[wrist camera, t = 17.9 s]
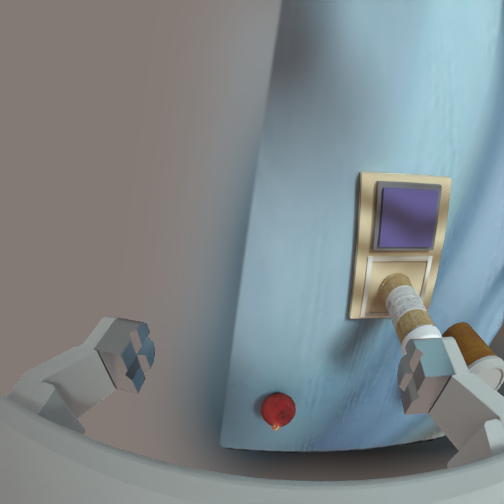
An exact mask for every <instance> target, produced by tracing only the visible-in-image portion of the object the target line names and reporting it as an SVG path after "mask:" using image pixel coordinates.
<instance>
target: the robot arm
mask: <svg viewBox="0 0 504 504" xmlns="http://www.w3.org/2000/svg"><path fill="white" fill-rule="evenodd" d="M149 332H150V331H149V328H148V326H147V324H146V323H144V322H139V321H133V320H128V319H122V318H116V317H111V316H105V317H103V318H102V319H101V320H100V322H99V323H98V324H97V326H96V327H95V328H94V330H93V331H92V332H91V334H90V335H89V336H88V338H87V339H86V340H85V342H84V343H83V344H82V345H81V346H75V347H73V348H72V349H70V350H68V351H66V352H64V353H62V354H60V355H58V356H56V357H54V358H52V359H50V360H48V361H46V362H44V363H42V364H40V365H38V366H36V367H35V368H32V369H30V370H28V371H26V372H25V373H24V374H23V376H22V377H21V378H20V379H19V381H18V382H17V383H16V385H15V386H14V388H13V389H12V390H11V392H10V393H9V394H8V396H7V397H5V396H4V395H2V394H0V504H504V397H503V396H502V395H500V394H499V393H498V392H497V391H495V390H494V389H493V388H492V387H491V386H489V385H488V384H487V383H486V382H484V381H483V380H482V379H481V378H479V377H478V376H477V375H475V374H474V373H470V372H469V370H468V368H467V365H466V363H465V361H464V358H463V356H462V354H461V352H460V349H459V347H458V345H457V343H456V341H455V339H454V338H453V337H439V338H421V339H410V340H409V341H408V342H407V345H406V347H405V349H406V353H407V354H406V355H405V356H403V357H402V358H401V360H400V363H399V366H398V373H397V376H398V384H399V387H400V388H401V389H402V390H403V391H404V393H403V395H402V397H401V399H402V403H403V408H404V413H405V415H406V414H421V413H429V415H430V417H431V418H432V419H433V420H434V421H435V423H436V424H437V425H438V426H439V427H440V429H441V430H442V431H443V432H444V433H445V435H446V436H447V437H448V438H449V439H450V441H451V442H452V443H453V444H454V446H455V447H456V448H457V449H458V450H459V452H458V453H457V454H456V455H455V456H454V457H453V458H452V459H451V460H450V461H449V462H448V464H447V466H448V469H443V470H438V471H433V472H427V473H421V474H415V475H409V476H401V477H393V478H385V479H373V480H358V481H328V482H327V481H325V482H324V481H288V480H273V479H262V478H252V477H243V476H236V475H229V474H223V473H217V472H211V471H205V470H200V469H195V468H190V467H186V466H181V465H177V464H173V463H169V462H165V461H161V460H157V459H153V458H150V457H146V456H143V455H139V454H136V453H133V452H130V451H126V450H123V449H120V448H117V447H114V446H111V445H109V444H106V443H103V442H100V441H97V440H95V439H92V438H90V437H87V436H85V435H84V433H85V429H84V427H83V426H82V424H81V423H80V422H79V420H78V419H77V418H79V417H80V416H81V415H83V414H84V413H85V412H87V411H88V410H89V409H91V408H92V407H94V406H95V405H96V404H98V403H99V402H100V401H102V400H103V399H104V398H106V397H107V396H108V395H110V394H111V393H112V392H114V391H115V390H116V389H120V390H125V391H129V392H134V393H138V392H139V390H140V388H141V386H142V384H143V382H144V380H145V376H144V372H146V371H147V370H149V369H150V368H151V366H152V364H153V362H154V356H155V349H154V344H153V342H152V341H151V340H150V339H149V338H148V337H147V336H148V334H149ZM115 388H116V389H115Z"/></svg>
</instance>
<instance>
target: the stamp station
mask: <svg viewBox="0 0 504 504" xmlns="http://www.w3.org/2000/svg"><path fill="white" fill-rule="evenodd" d="M451 181H452V179H451V178H449V177H443V176H432V175H418V174H403V173H384V172H360V188H359V211H358V228H357V242H356V254H355V265H354V275H353V285H352V294H351V302H350V310H349V316H350V319H356V318H387V317H390V315H389V312H388V310H387V307H386V303H385V301H384V299H383V297H382V296H381V292H380V290H381V284H382V282H383V281H384V280H385V279H386V278H387V277H388V276H389V275H391V274H394V273H403V274H405V275H406V276H407V277H409V279H410V281H411V284H412V286H413V287H414V289H415V290H416V291H417V293H418V295H419V297H420V298H421V300H422V302H423V304H424V306H425V308H426V310H427V312H428V309H429V305H430V302H431V298H432V294H433V290H434V285H435V281H436V277H437V272H438V267H439V263H440V258H441V253H442V247H443V242H444V236H445V229H446V223H447V216H448V209H449V200H450V191H451Z"/></svg>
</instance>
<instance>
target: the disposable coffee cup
mask: <svg viewBox="0 0 504 504" xmlns="http://www.w3.org/2000/svg"><path fill="white" fill-rule="evenodd" d="M442 337H453V338H454V339H455V341H456V343H457V345H458V347H459V349H460V352H461V354H462V356H463V358H464V361H465V363H466V365H467V368H468V370H469V372H470V373H474V374H475V375H477V376H478V377H479V378H481V379H482V380H483V381H484V382H486V383H487V384H488V385H489V386H491V387H492V388H493V389H494V390H495V391H497V390H498V388H499V387H500V386H501V384H502V383H503V381H504V361H503V360H502V359H501V358H499V357H497V356H496V355H495V354H494V353H493V352H492V351H491V349H490V348H489V347H488V346H487V345H486V343H485V342H484V341H483V340H482V339H481V338H480V336H479V335H478V334H477V333H476V332H475V331H474V330H473V329H472V327H471V326H470V325H469V324H467V323H463V322H462V323H457V324H455V325H453V326H451V327H450V328H449V329H448V330H447V331H446V332H445V333H444V334H443V336H442Z"/></svg>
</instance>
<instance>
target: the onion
mask: <svg viewBox="0 0 504 504" xmlns="http://www.w3.org/2000/svg"><path fill="white" fill-rule="evenodd" d="M295 410H296V407H295V403H294V401H293V400H292V398H291V397H290V396H288V395H286V394H284V393H275V394H273V395H270V396H269V397H267V398H266V399H265V400H264V402H263V404H262V407H261V413H262V416H263V419H264V420H265V421H266V422H267V423H268V424H269V425H271V426H272V429H273V430H274V431H275V430H278V429H279V428H280V427H282V426H285V425H287V424H288V423H289V422H290V421H291V420H292V419H293V417H294V415H295Z"/></svg>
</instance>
